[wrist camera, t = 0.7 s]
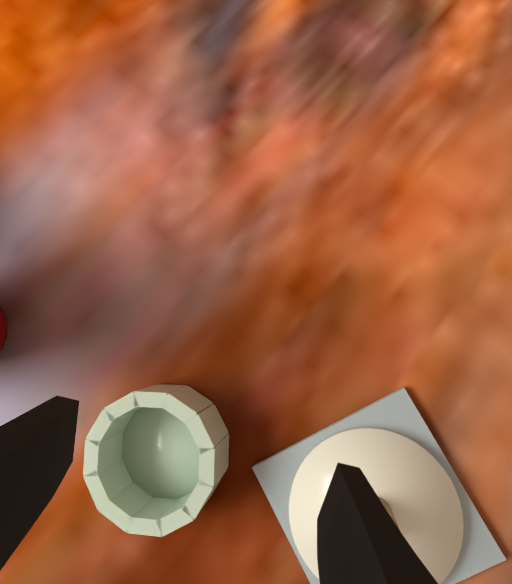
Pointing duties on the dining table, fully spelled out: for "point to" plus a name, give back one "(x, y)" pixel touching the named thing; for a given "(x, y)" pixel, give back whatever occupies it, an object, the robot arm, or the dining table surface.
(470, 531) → the mat
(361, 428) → the lid
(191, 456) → the bowl
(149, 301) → the dining table surface
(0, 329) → the plastic cup
